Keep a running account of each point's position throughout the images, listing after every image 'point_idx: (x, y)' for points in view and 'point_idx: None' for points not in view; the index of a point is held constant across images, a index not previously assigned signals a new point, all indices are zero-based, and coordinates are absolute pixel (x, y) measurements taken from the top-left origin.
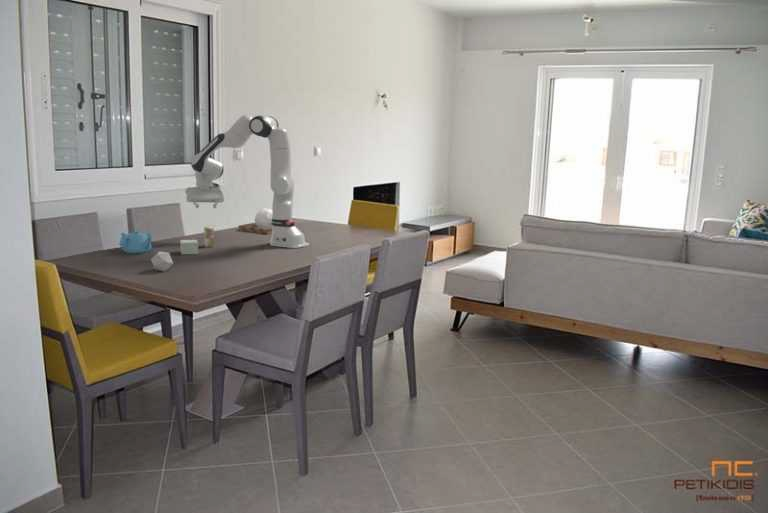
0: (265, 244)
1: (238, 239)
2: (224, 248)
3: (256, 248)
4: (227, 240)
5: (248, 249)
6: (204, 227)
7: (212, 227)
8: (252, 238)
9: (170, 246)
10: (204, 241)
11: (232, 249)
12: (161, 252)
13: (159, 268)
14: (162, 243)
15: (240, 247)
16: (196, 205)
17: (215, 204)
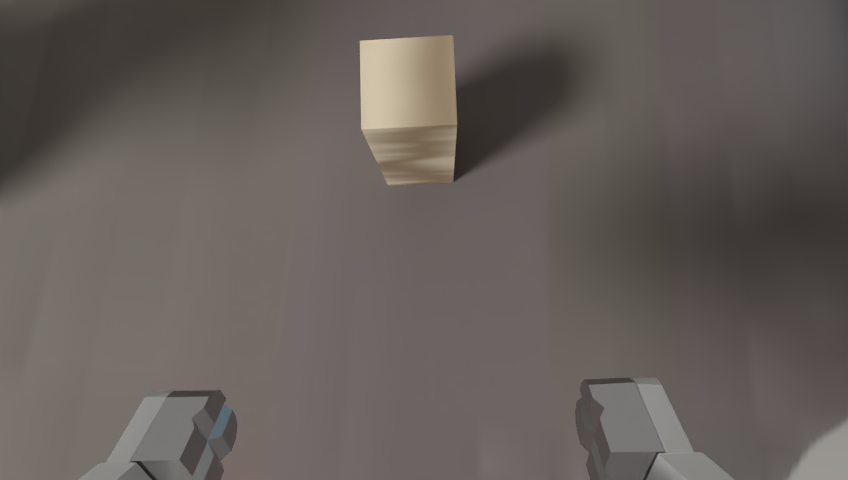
0: (2, 173)
1: None
2: (317, 53)
3: (101, 32)
4: (254, 384)
5: (161, 4)
6: (454, 103)
7: (367, 99)
8: (33, 458)
9: (713, 168)
10: (453, 171)
11: (268, 13)
12: None
13: None
14: (792, 305)
15: (202, 78)
16: (650, 395)
17: (132, 443)
